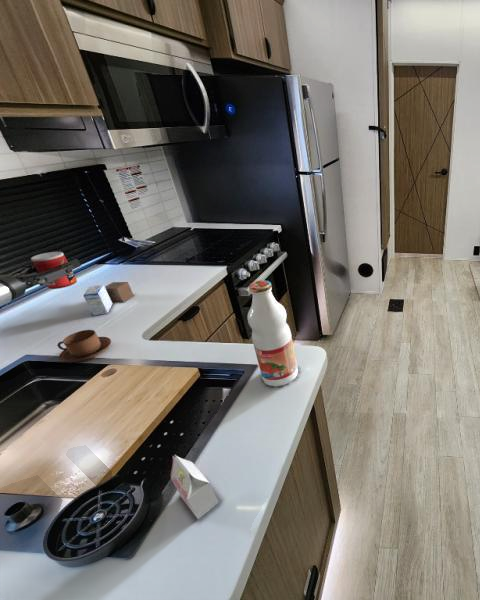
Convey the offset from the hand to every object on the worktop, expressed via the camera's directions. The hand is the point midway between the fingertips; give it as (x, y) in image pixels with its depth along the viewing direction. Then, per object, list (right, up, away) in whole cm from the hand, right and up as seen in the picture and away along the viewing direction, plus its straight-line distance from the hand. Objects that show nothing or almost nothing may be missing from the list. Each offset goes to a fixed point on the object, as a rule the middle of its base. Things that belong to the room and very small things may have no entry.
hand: (65, 262), depth 118 cm
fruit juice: (+87, -34, -27) cm, 97 cm away
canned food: (0, -8, -1) cm, 8 cm away
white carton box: (+83, -51, -57) cm, 112 cm away
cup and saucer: (+25, -30, -17) cm, 42 cm away
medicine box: (+8, -17, +6) cm, 20 cm away
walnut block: (+8, -13, +14) cm, 21 cm away
